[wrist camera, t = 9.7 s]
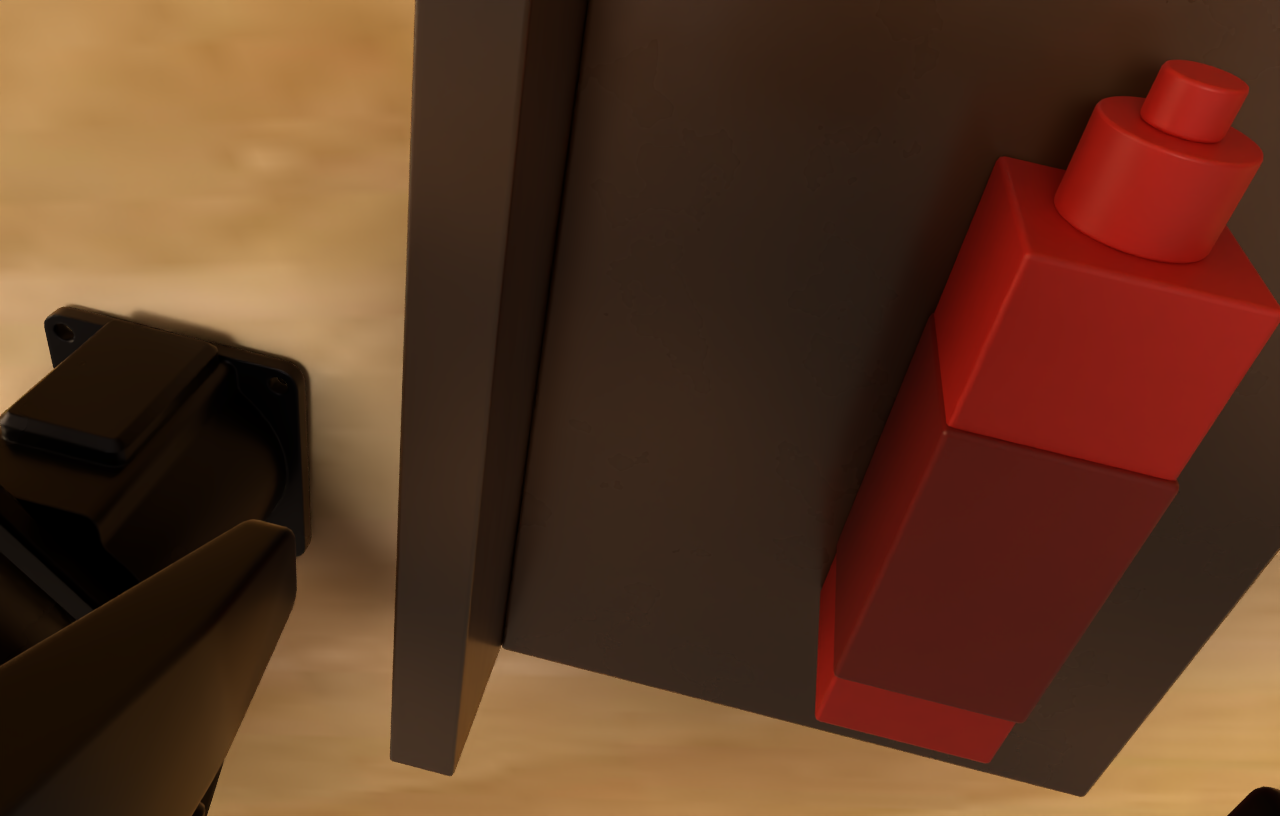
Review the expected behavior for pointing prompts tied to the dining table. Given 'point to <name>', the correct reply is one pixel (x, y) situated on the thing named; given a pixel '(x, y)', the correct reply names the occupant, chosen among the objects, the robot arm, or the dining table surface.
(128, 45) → the dining table surface
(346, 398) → the dining table surface
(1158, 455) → the red square bottle
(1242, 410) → the shelf
